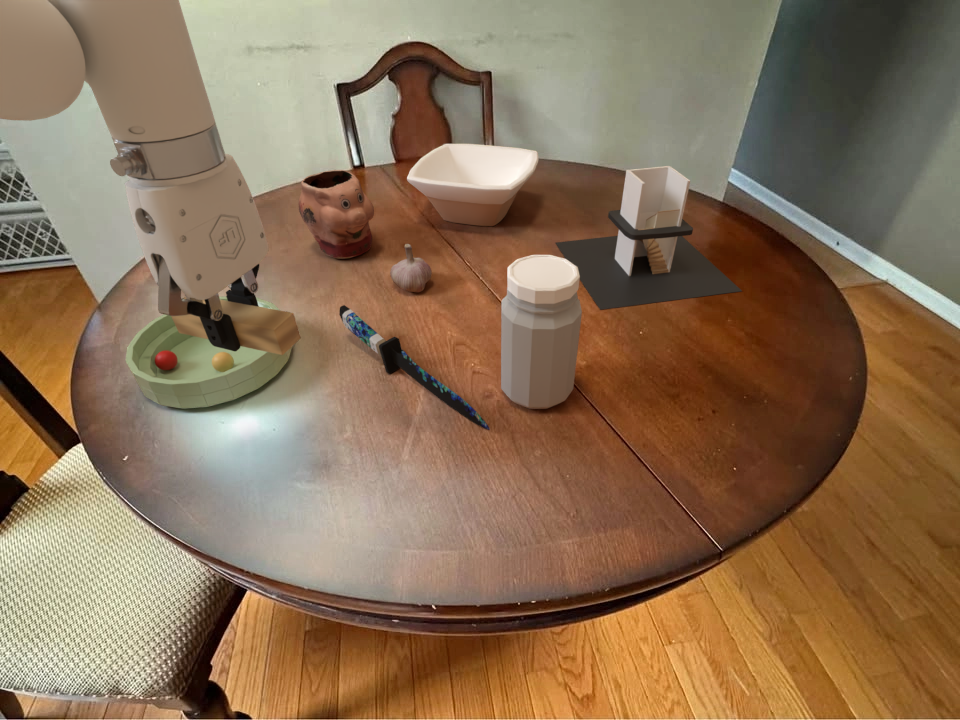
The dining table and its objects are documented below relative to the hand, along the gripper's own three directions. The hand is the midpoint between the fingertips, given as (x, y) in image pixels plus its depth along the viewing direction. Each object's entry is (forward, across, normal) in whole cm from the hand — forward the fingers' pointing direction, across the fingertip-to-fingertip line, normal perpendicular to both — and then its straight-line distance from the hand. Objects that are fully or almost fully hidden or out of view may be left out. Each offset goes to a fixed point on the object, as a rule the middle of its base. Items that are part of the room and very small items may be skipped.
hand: (238, 335), depth 56 cm
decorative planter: (+17, +49, +22) cm, 56 cm away
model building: (+17, +60, -34) cm, 71 cm away
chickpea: (+14, +10, +15) cm, 23 cm away
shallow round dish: (+17, +11, +19) cm, 28 cm away
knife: (+17, +17, -9) cm, 26 cm away
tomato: (+16, +7, +23) cm, 29 cm away
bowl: (+17, +72, +2) cm, 74 cm away
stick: (0, 0, 0) cm, 0 cm away
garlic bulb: (+17, +40, +2) cm, 44 cm away
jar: (+17, +21, -26) cm, 38 cm away
